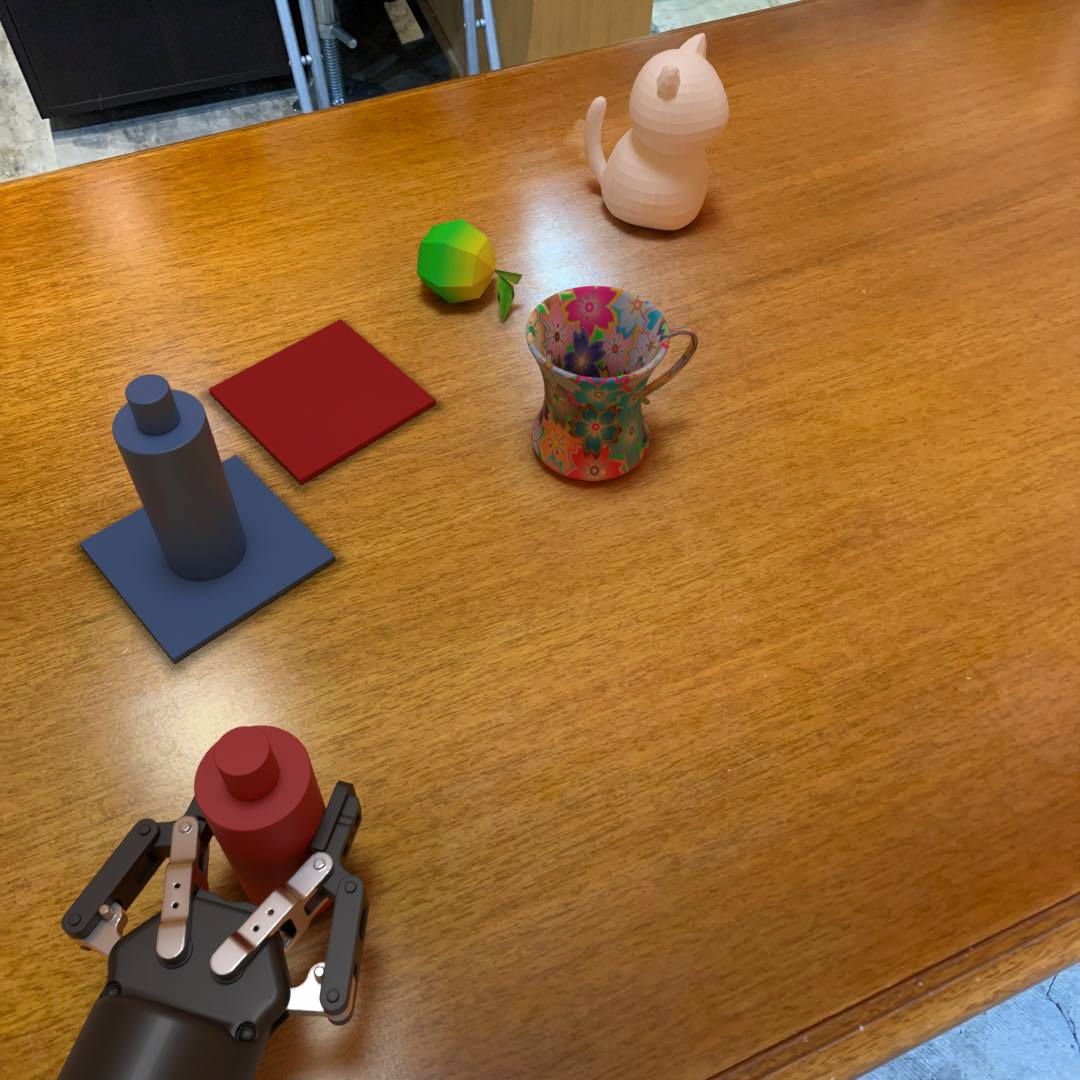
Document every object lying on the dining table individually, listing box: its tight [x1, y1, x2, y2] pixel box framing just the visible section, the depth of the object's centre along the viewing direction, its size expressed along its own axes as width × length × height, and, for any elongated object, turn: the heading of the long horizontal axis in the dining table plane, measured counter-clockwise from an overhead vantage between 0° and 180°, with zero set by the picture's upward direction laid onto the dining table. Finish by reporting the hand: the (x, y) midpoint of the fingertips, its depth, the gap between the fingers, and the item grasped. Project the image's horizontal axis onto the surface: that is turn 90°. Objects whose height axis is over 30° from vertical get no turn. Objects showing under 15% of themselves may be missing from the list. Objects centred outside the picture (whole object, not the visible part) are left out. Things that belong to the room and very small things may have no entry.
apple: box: [416, 218, 523, 324], centre depth 86 cm, size 7×6×9 cm
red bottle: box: [193, 724, 333, 919], centre depth 52 cm, size 5×5×14 cm
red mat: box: [208, 318, 437, 485], centre depth 80 cm, size 12×12×1 cm
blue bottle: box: [111, 373, 247, 581], centre depth 65 cm, size 5×5×14 cm
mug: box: [525, 285, 699, 482], centre depth 74 cm, size 12×9×11 cm
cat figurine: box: [583, 32, 730, 231], centre depth 90 cm, size 9×12×15 cm
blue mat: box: [79, 454, 337, 664], centre depth 71 cm, size 12×12×1 cm
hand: (292, 775), depth 54 cm, fingers closed on red bottle, 5 cm apart
